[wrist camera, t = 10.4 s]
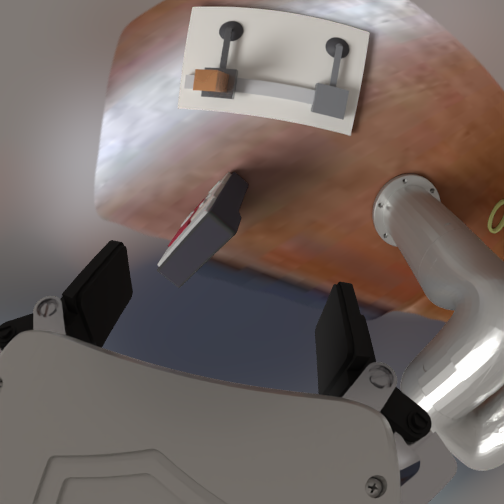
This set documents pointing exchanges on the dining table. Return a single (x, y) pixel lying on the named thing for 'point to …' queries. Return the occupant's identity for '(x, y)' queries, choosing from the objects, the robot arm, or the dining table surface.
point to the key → (499, 227)
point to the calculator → (204, 230)
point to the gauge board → (278, 65)
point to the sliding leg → (218, 75)
